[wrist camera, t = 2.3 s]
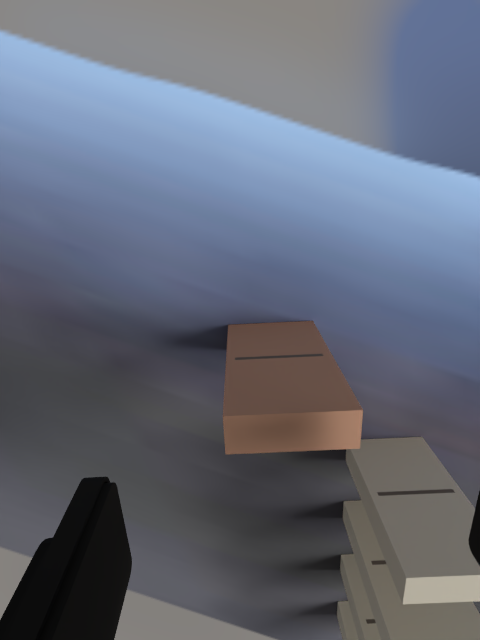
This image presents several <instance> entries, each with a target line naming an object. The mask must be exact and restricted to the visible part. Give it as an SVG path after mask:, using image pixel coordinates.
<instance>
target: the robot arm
mask: <svg viewBox="0 0 480 640" xmlns="http://www.w3.org/2000/svg"><path fill="white" fill-rule="evenodd" d="M468 541H469V547H470V550H471V553H472V554H473V556H474V558H475V559H476V561H477V563H478V564H479V566H480V491H479V495H478V500H477V504H476V508H475V513H474V517H473V521H472V526H471V530H470V534H469V540H468ZM131 567H132V558H131V553H130V548H129V543H128V538H127V533H126V528H125V524H124V519H123V514H122V509H121V504H120V499H119V495H118V490H117V485H116V483H110V481H109V479H108V477H93V478H84V479H82V480H81V482H80V484H79V486H78V488H77V490H76V492H75V494H74V496H73V498H72V500H71V502H70V504H69V506H68V508H67V510H66V512H65V514H64V516H63V518H62V520H61V523H60V525H59V527H58V529H57V531H56V533H55V535H54V537H53V538H48V539H45V540H44V541H43V542H42V543H41V544H40V546H39V547H38V549H37V550H36V552H35V554H34V556H33V558H32V560H31V562H30V564H29V566H28V568H27V570H26V571H25V574H24V576H23V577H22V579H21V581H20V583H19V585H18V587H17V589H16V591H15V593H14V595H13V597H12V599H11V600H10V602H9V604H8V606H7V608H6V610H5V612H4V614H3V616H2V618H1V620H0V640H114V638H115V634H116V630H117V626H118V622H119V617H120V614H121V610H122V606H123V602H124V598H125V594H126V590H127V586H128V582H129V578H130V574H131Z"/></svg>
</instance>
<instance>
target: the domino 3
mask: <svg viewBox="0 0 480 640" xmlns="http://www.w3.org/2000/svg"><path fill="white" fill-rule="evenodd" d="M346 463H347V465H348V468H349V470H350V473H351V475H352V478H353V480H354V483H355V485H356V488H357V491H358V493H359V496H360V498H361V501H362V503H363V506H364V508H365V511H366V513H367V516H368V518H369V521H370V523H371V526H372V528H373V531H374V533H375V536H376V538H377V541H378V544H379V546H380V549H381V551H382V554H383V556H384V559H385V561H386V564H387V566H388V569H389V571H390V574H391V576H392V579H393V581H394V584H395V586H396V589H397V591H398V594H399V596H400V599H401V602H402V604H424V603H448V602H472V601H480V566H479V564H478V563H477V561H476V559H475V558H474V556H473V554H472V553H471V550H470V547H469V541H468V540H469V534H470V530H471V526H472V521H473V517H474V513H475V508H474V507H473V506H472V504H471V503H470V501H469V500H468V499H467V497H466V496H465V495H464V493H463V492H462V491H461V489H460V488H459V486H458V485H457V484H456V482H455V481H454V480H453V478H452V477H451V476H450V474H449V473H448V472H447V470H446V469H445V467H444V466H443V465H442V463H441V462H440V461H439V459H438V458H437V457H436V455H435V454H434V452H433V451H432V450H431V448H430V447H429V446H428V444H427V443H426V442H425V440H424V439H423V438H422V437H406V438H384V439H361V442H360V449H346Z"/></svg>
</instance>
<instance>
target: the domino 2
mask: <svg viewBox="0 0 480 640" xmlns="http://www.w3.org/2000/svg"><path fill="white" fill-rule="evenodd" d="M340 572H341V576H342V580H343V583H344V587H345V591H346V595H347V598H348V602H349V606H350V609H351V613H352V617H353V621H354V624H355V628H356V632H357V636H358V639H359V640H381V638H380V635H379V632H378V629H377V625H376V622H375V619H374V616H373V613H372V610H371V607H370V603H369V600H368V597H367V594H366V591H365V588H364V585H363V581H362V578H361V575H360V572H359V569H358V566H357V563H356V559H355V556H354V554H345V555H341V562H340Z"/></svg>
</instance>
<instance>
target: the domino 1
mask: <svg viewBox="0 0 480 640" xmlns="http://www.w3.org/2000/svg"><path fill="white" fill-rule="evenodd" d="M362 415H363V409H362V408H361V406H360V404H359V402H358V400H357V399H356V397H355V395H354V393H353V392H352V390H351V388H350V386H349V384H348V383H347V381H346V379H345V377H344V376H343V374H342V372H341V370H340V368H339V367H338V365H337V363H336V361H335V360H334V358H333V356H332V354H331V352H330V351H329V349H328V347H327V345H326V344H325V342H324V340H323V338H322V336H321V335H320V333H319V331H318V329H317V328H316V326H315V324H314V322H313V321H298V322H277V323H255V324H233V325H228V336H227V354H226V371H225V389H224V406H223V424H224V438H225V452H226V454H249V453H271V452H294V451H317V450H339V449H360V442H361V429H362Z"/></svg>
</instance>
